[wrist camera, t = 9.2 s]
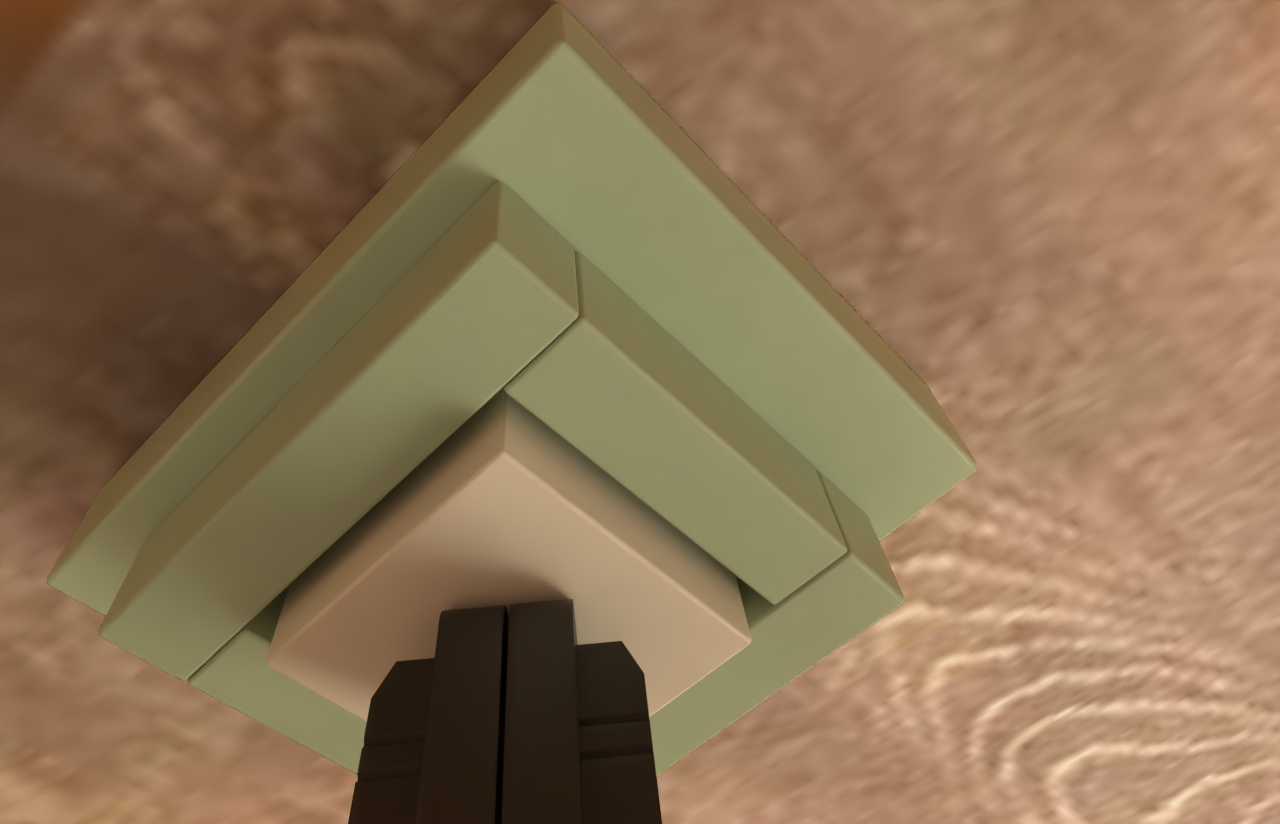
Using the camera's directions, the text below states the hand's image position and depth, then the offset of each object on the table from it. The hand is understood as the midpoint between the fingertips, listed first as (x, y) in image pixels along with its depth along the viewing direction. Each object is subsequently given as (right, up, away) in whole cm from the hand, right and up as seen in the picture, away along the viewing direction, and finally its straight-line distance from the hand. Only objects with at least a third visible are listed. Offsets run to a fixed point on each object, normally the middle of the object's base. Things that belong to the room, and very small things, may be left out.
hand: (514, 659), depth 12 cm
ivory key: (0, +1, +2) cm, 2 cm away
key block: (0, +2, +4) cm, 5 cm away
